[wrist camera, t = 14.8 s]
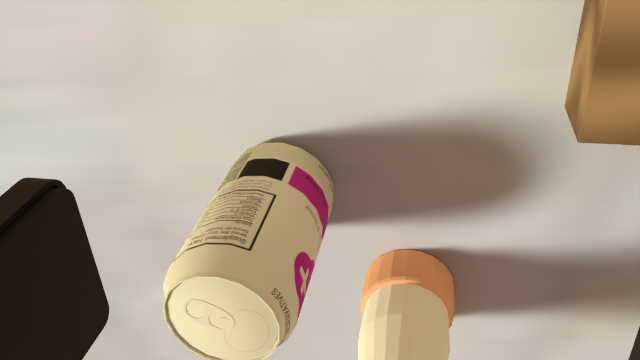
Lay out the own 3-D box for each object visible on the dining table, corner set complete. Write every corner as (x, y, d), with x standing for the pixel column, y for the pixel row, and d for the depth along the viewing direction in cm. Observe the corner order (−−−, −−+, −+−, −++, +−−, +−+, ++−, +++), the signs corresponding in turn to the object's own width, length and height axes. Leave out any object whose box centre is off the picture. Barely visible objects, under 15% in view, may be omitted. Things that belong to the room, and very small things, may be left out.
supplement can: (352, 166, 44) (312, 307, 31) (311, 241, 49) (262, 391, 36) (253, 120, 43) (172, 244, 31) (221, 200, 48) (139, 337, 36)
